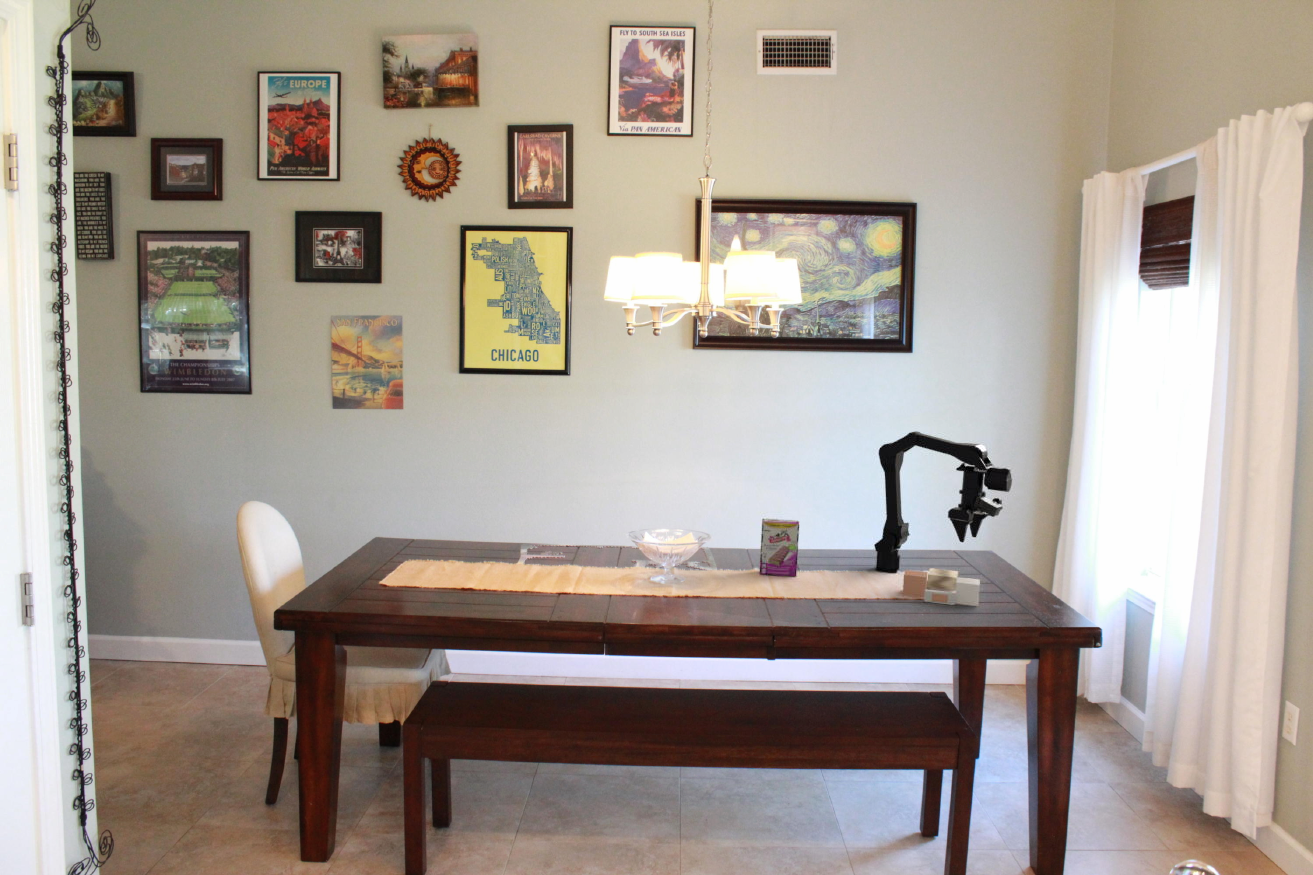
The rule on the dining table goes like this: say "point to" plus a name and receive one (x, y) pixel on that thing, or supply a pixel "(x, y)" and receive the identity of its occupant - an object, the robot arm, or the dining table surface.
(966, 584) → the offwhite cube
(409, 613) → the dining table surface
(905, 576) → the terracotta cube
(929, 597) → the plinth
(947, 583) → the base block
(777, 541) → the candy bar box
